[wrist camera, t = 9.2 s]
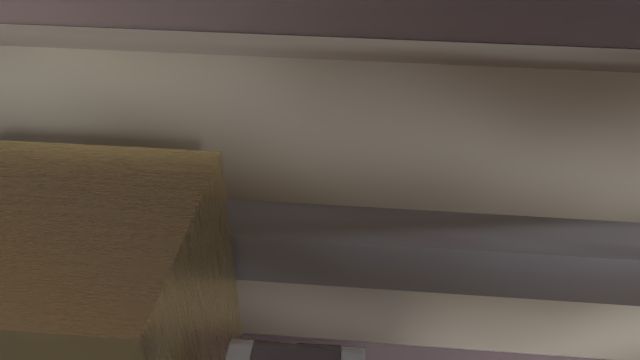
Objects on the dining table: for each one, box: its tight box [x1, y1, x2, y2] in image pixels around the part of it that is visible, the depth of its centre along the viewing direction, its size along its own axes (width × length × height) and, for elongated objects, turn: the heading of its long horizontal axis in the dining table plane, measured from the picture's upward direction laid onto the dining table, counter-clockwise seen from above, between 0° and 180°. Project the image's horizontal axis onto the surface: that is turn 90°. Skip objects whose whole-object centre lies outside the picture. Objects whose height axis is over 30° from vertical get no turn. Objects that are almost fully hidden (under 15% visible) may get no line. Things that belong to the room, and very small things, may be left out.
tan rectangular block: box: [0, 140, 243, 360], centre depth 11 cm, size 7×5×5 cm
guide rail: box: [0, 24, 640, 360], centre depth 12 cm, size 10×30×8 cm, turn 89°
